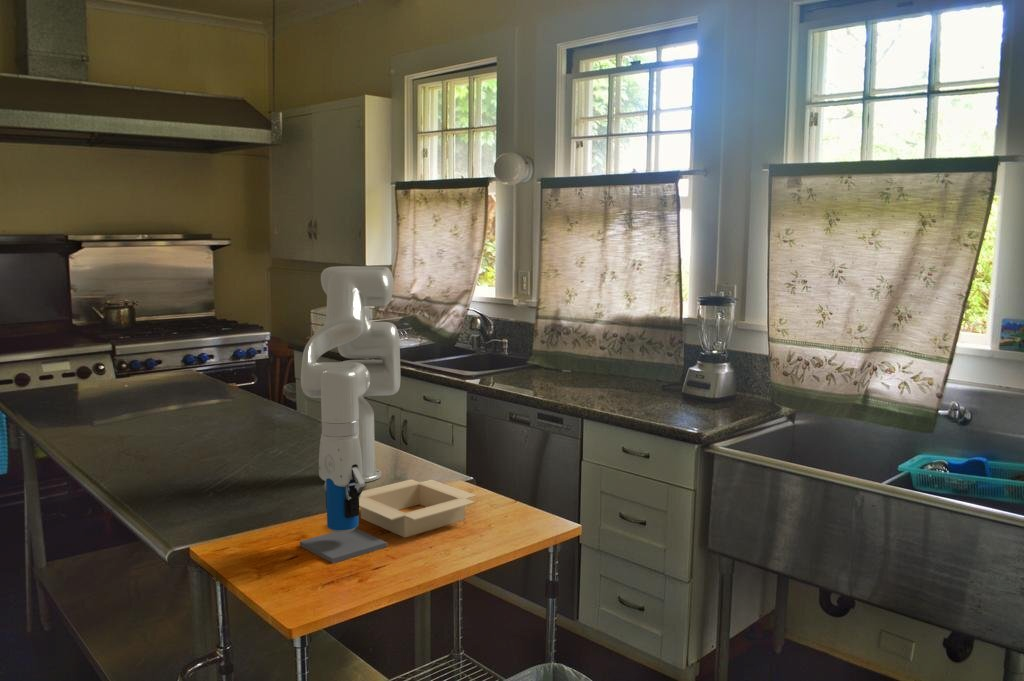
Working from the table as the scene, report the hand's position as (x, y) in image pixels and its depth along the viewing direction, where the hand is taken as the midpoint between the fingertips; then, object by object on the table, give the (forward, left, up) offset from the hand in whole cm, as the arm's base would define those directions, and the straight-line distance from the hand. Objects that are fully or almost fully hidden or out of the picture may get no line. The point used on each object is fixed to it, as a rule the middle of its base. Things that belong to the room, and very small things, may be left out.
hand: (342, 511), depth 179 cm
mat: (0, 0, -8) cm, 8 cm away
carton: (-4, +21, -8) cm, 23 cm away
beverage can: (0, 0, -4) cm, 4 cm away
